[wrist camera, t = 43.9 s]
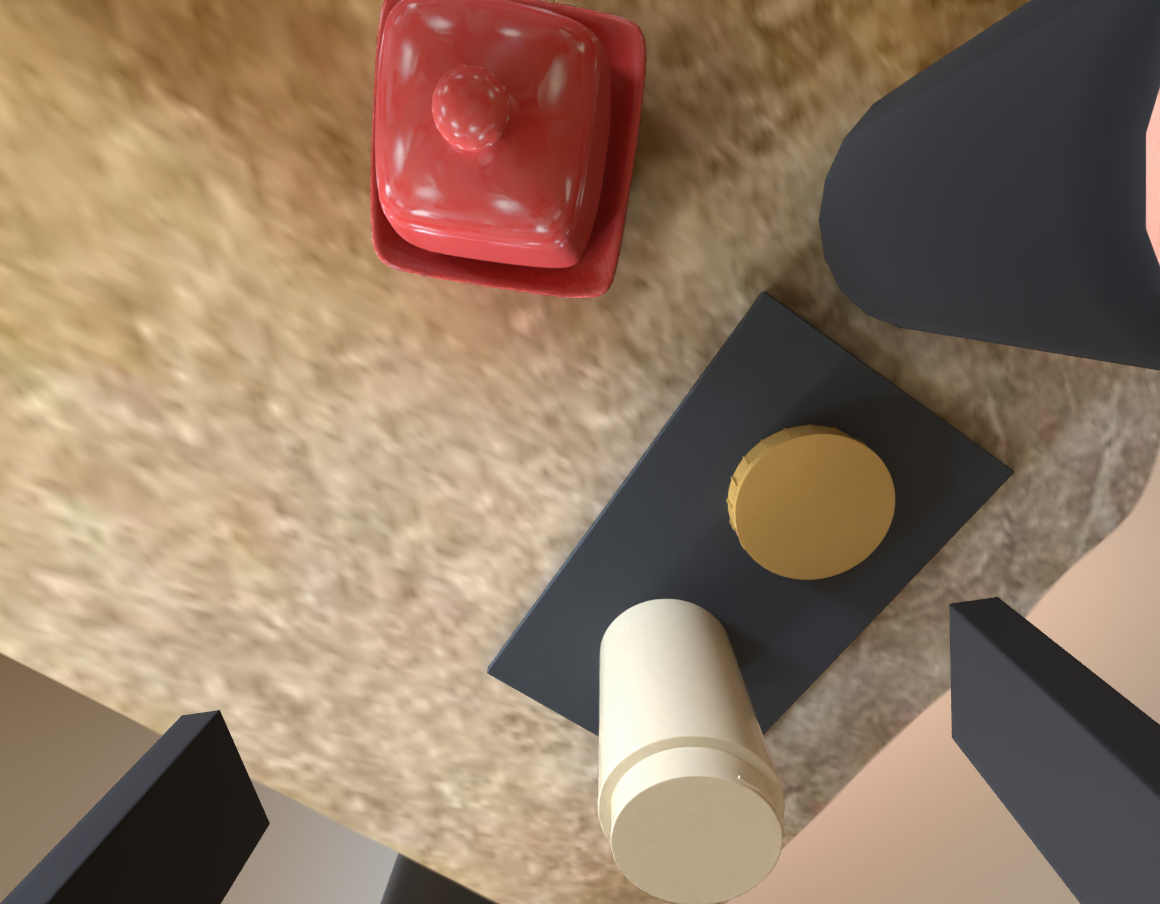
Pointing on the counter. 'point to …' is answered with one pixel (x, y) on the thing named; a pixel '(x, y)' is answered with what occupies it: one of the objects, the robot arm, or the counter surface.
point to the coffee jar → (1014, 188)
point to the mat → (712, 548)
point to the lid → (810, 502)
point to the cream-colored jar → (683, 758)
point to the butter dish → (504, 142)
